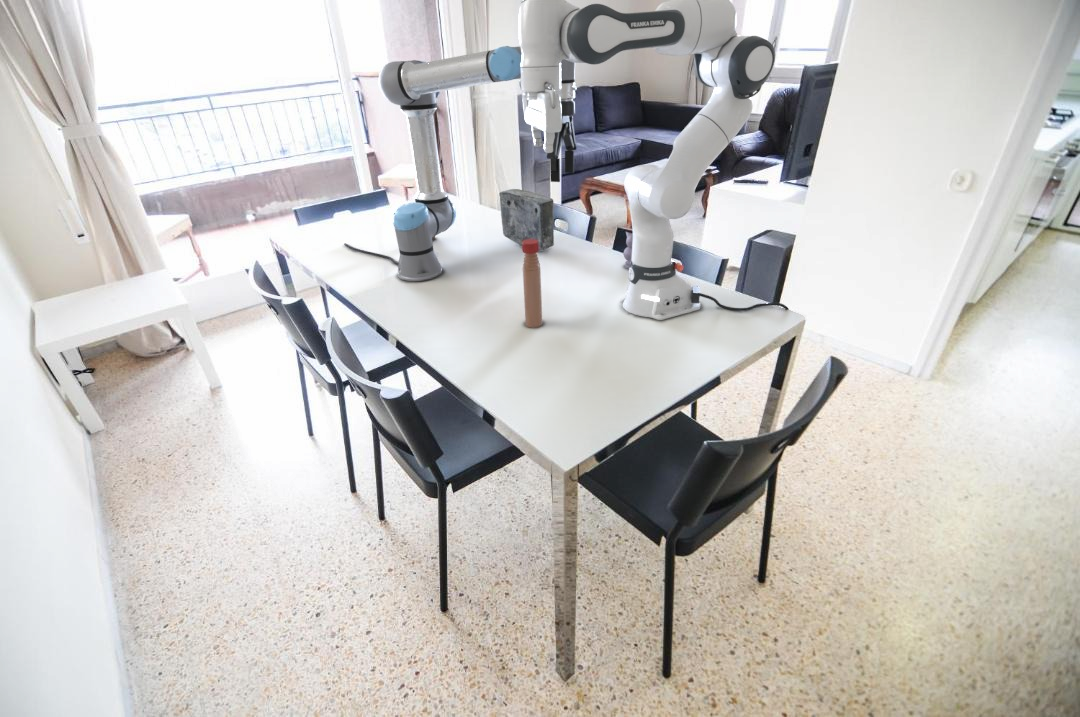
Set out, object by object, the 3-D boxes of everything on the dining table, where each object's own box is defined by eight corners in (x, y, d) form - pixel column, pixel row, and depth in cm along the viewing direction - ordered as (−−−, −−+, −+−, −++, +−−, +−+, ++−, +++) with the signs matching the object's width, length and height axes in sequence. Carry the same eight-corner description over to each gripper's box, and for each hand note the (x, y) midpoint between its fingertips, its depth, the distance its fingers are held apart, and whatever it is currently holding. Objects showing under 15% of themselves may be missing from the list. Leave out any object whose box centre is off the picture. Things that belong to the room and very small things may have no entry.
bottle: (545, 324, 140) (543, 242, 128) (532, 329, 138) (528, 247, 125) (535, 318, 143) (532, 238, 131) (522, 323, 141) (517, 242, 129)
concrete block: (559, 252, 190) (558, 199, 179) (540, 257, 185) (538, 203, 175) (520, 236, 208) (517, 187, 198) (502, 240, 204) (498, 190, 194)
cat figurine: (651, 266, 175) (654, 232, 168) (638, 272, 170) (641, 238, 163) (630, 260, 180) (633, 227, 173) (618, 267, 175) (619, 233, 169)
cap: (542, 251, 129) (542, 241, 128) (529, 255, 127) (528, 245, 125) (532, 247, 132) (531, 237, 131) (519, 251, 130) (518, 241, 128)
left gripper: (560, 104, 132) (561, 186, 143) (586, 96, 152) (585, 169, 163) (533, 104, 134) (536, 185, 145) (563, 96, 154) (564, 168, 165)
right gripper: (568, 83, 101) (569, 155, 108) (543, 79, 118) (544, 142, 125) (539, 84, 100) (541, 157, 107) (517, 81, 117) (520, 144, 124)
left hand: (562, 177), depth 154 cm, fingers open, 13 cm apart
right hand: (543, 149), depth 116 cm, fingers open, 8 cm apart
